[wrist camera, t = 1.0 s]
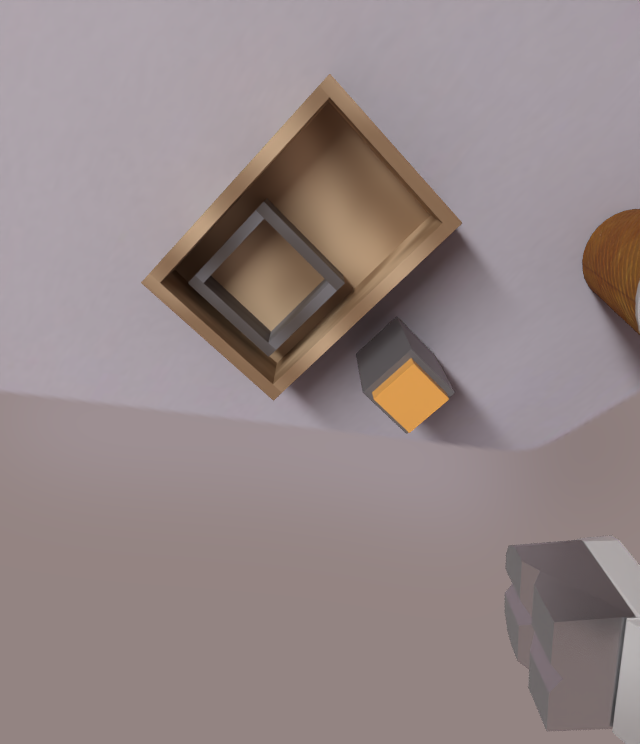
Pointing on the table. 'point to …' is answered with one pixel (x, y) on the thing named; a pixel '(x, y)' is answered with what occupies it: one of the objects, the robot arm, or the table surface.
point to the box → (302, 242)
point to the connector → (402, 376)
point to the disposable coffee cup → (616, 265)
